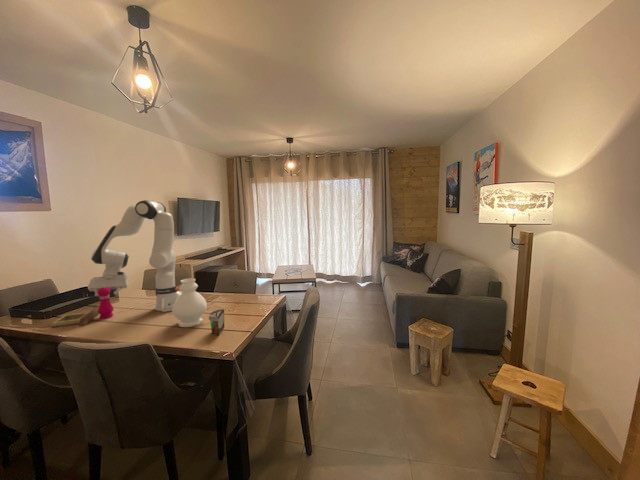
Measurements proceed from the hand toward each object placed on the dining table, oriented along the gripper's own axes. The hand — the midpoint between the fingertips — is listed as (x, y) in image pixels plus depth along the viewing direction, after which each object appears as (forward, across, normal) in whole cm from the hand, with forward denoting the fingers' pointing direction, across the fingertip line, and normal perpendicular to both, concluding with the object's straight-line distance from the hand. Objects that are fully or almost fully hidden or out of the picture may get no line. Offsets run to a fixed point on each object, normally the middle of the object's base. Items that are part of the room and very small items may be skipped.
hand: (106, 295), depth 160 cm
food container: (+44, +64, -26) cm, 82 cm away
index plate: (+11, -16, +8) cm, 21 cm away
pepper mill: (+11, 0, +8) cm, 14 cm away
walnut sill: (+11, -7, +8) cm, 15 cm away
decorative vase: (+31, +50, -13) cm, 61 cm away
